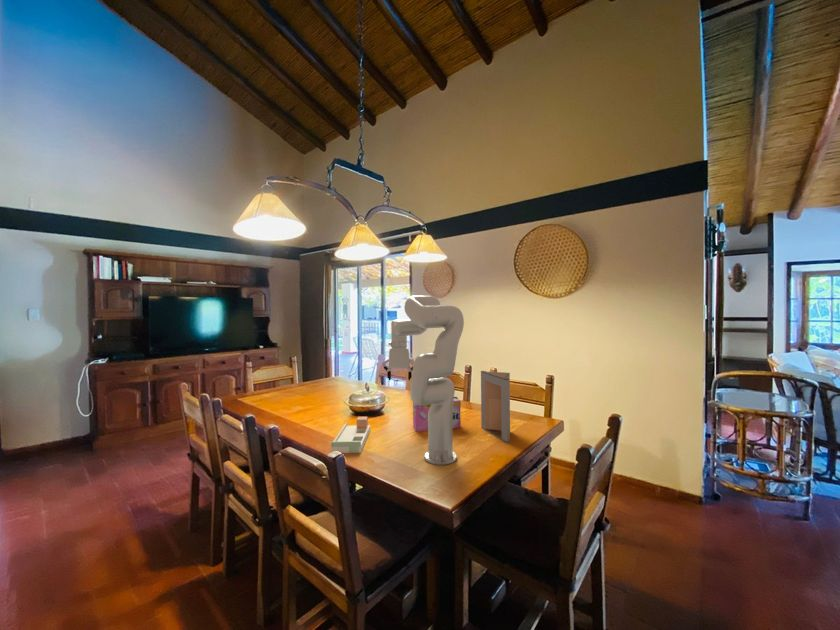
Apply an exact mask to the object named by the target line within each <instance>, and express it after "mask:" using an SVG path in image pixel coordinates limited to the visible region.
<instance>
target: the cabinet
mask: <svg viewBox="0 0 840 630" xmlns="http://www.w3.org/2000/svg"><path fill="white" fill-rule="evenodd" d="M510 374H511V373H510V372H501V371H500V372H499V371H487V370H481V371H480V409H481V410H480V411H481V413H480V414H481V415H480V417H481V418H480V419H481V423H480V425H481V429H483V430H484V431H486V432H488V433H489V434H491V435H492V436H494V437H495V438H497V439H499V440H500V441H502V442H504V443H505V444H509V443H510V433H511V387H510V385H511V384H510V383H511V382H510V380H511V379H510V376H511V375H510Z"/></svg>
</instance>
